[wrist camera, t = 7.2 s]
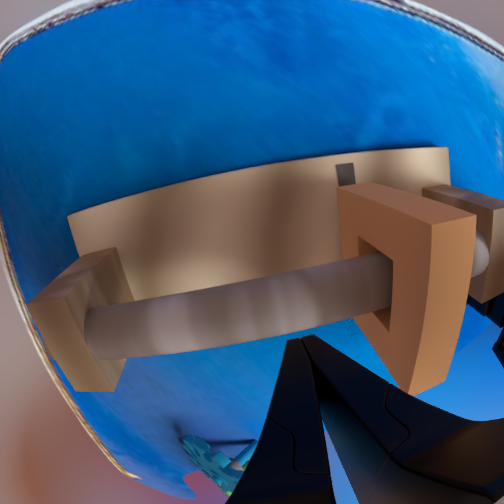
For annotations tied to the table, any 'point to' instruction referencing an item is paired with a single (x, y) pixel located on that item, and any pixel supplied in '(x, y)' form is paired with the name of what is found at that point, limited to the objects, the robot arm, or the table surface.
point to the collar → (412, 277)
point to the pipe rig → (237, 260)
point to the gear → (218, 462)
